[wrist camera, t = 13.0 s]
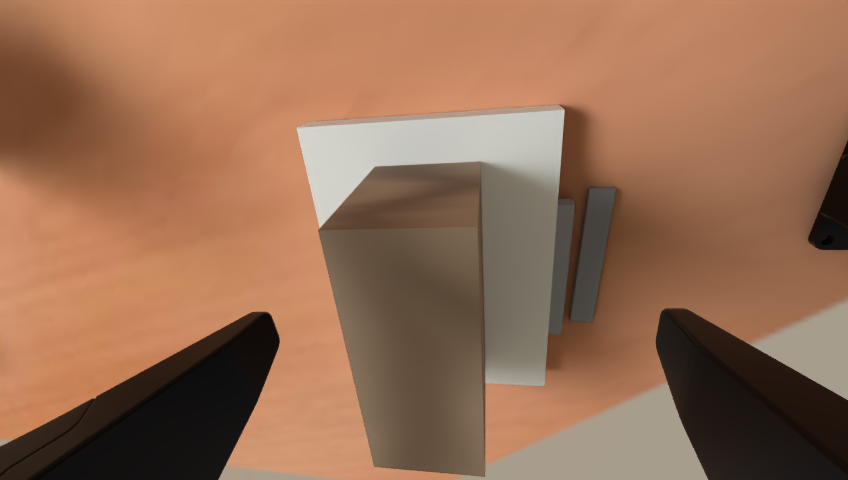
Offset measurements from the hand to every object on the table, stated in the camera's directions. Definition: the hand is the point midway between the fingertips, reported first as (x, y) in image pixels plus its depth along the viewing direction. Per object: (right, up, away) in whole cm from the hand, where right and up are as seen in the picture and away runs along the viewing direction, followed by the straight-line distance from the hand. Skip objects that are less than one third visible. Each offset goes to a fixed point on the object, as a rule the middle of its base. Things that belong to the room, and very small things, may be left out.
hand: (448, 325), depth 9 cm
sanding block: (0, 0, +12) cm, 12 cm away
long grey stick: (+6, 0, +12) cm, 14 cm away
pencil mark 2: (+8, +1, +11) cm, 14 cm away
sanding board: (0, +1, +13) cm, 13 cm away
